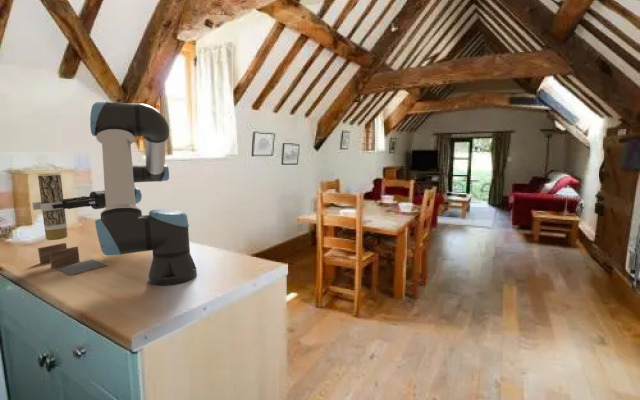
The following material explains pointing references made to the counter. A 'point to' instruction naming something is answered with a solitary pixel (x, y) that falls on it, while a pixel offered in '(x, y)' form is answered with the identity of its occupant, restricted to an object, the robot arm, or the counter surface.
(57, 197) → the paper tube
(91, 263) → the mat
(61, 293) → the counter surface
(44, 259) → the board
